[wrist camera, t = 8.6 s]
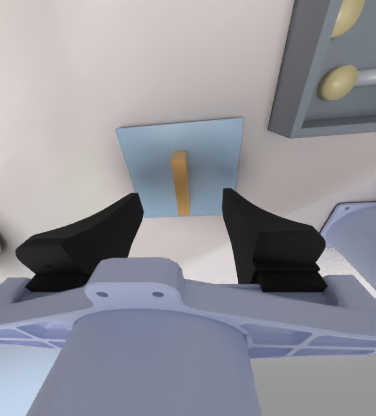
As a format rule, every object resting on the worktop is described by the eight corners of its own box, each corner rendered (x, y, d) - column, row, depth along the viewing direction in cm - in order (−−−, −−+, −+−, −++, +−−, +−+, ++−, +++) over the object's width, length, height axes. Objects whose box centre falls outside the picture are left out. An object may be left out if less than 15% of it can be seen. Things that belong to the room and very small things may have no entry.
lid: (239, 116, 14) (254, 121, 10) (230, 207, 20) (237, 229, 17) (121, 126, 15) (99, 134, 11) (147, 211, 21) (137, 232, 17)
